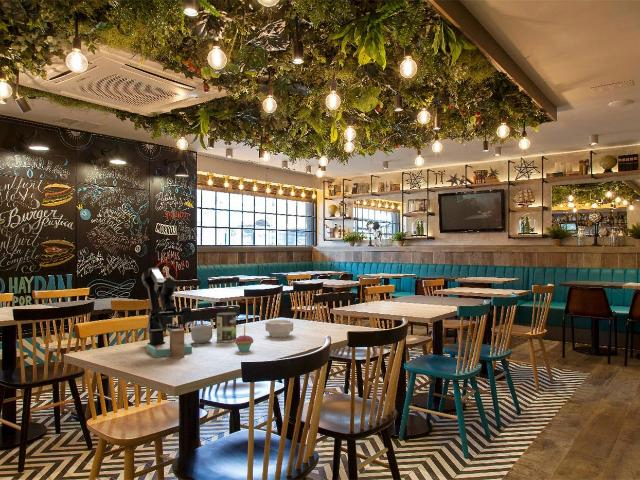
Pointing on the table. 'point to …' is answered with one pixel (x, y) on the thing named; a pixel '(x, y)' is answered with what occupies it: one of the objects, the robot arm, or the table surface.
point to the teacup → (201, 333)
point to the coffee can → (226, 326)
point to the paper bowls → (279, 327)
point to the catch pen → (166, 350)
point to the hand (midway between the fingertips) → (174, 328)
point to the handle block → (176, 343)
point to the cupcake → (244, 342)
